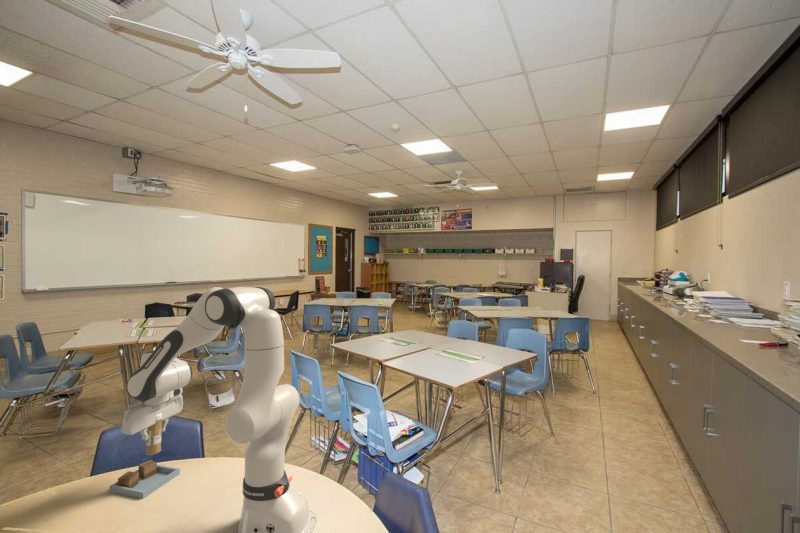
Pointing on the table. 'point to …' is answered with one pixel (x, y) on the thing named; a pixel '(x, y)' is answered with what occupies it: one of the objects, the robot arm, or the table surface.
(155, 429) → the sprinkles bottle
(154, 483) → the tray
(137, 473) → the walnut block
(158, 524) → the table surface
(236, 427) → the robot arm
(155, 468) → the walnut block
